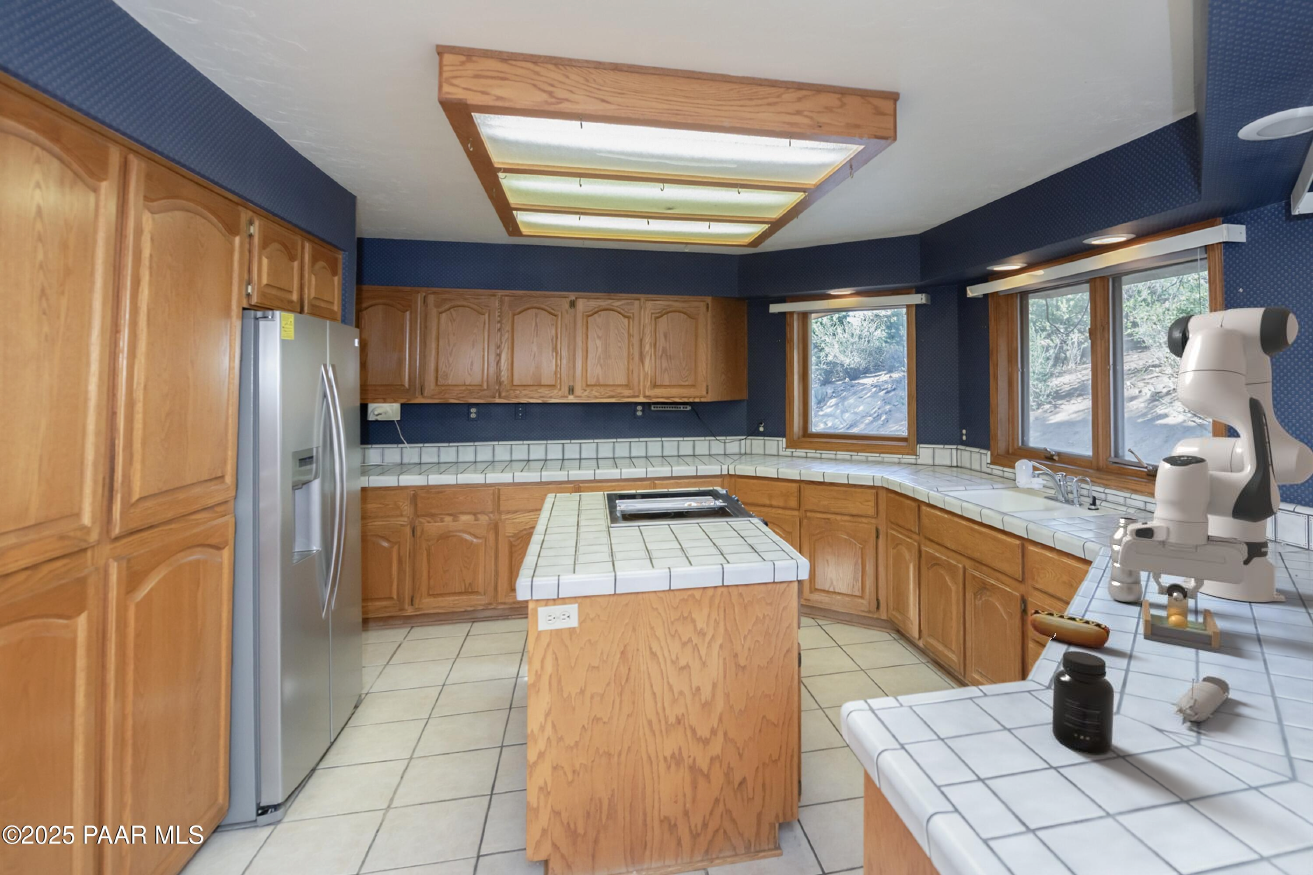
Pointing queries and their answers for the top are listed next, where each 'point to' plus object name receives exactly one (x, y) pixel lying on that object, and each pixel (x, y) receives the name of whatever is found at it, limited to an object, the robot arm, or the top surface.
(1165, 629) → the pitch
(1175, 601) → the glass stem black base
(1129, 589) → the plastic bottle
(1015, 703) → the top surface
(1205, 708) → the torpedo
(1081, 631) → the hot dog
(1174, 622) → the ball
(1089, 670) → the supplement bottle
